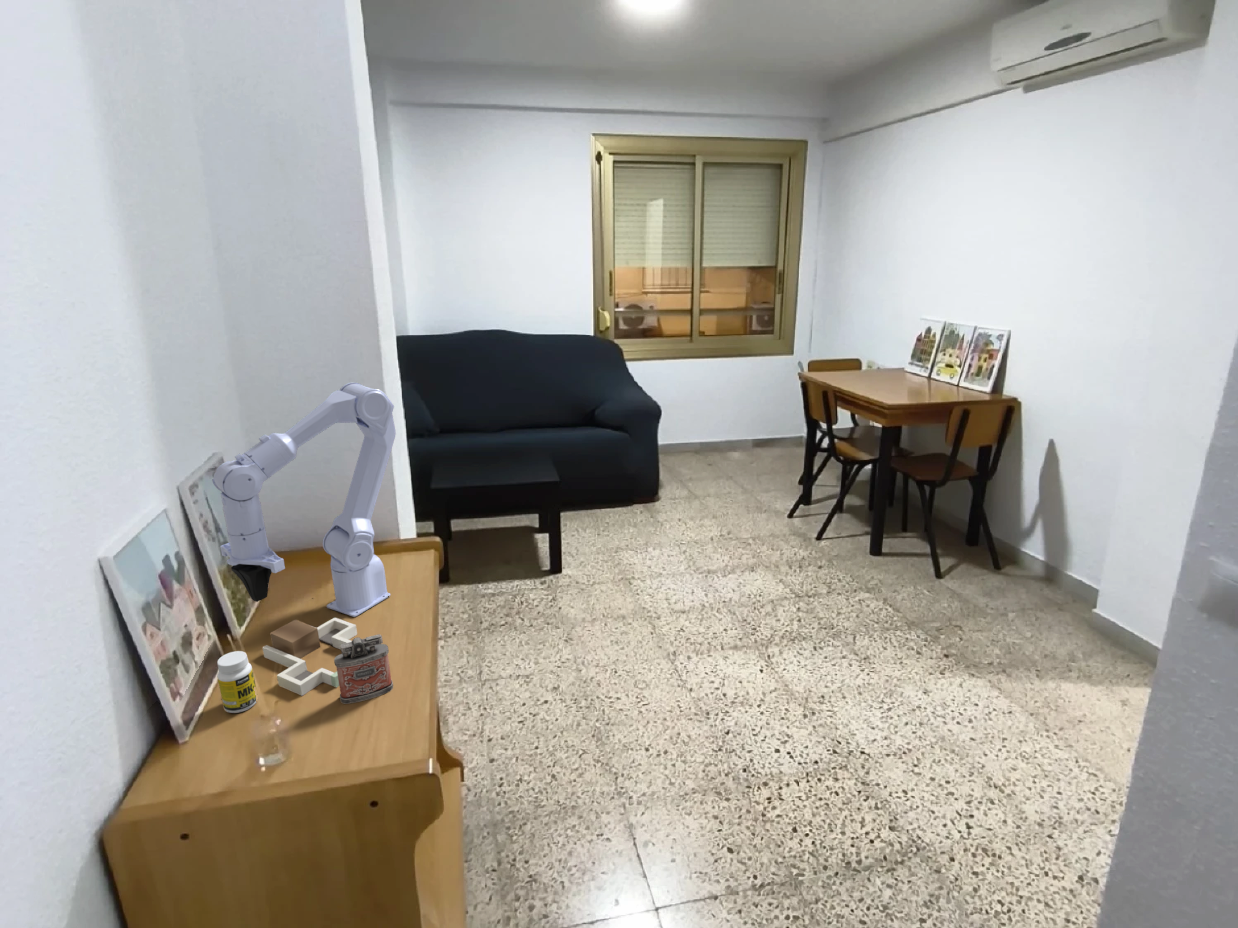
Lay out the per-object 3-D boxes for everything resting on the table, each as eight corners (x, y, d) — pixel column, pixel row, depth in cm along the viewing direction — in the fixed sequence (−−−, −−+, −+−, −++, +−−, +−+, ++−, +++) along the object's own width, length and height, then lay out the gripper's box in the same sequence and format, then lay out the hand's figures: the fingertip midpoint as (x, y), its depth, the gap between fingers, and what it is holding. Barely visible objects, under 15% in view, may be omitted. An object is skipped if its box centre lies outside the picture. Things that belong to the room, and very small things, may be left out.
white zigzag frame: (324, 622, 127) (322, 613, 127) (394, 647, 119) (392, 637, 119) (242, 669, 113) (240, 659, 113) (315, 701, 105) (313, 691, 105)
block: (298, 638, 123) (295, 619, 121) (320, 647, 120) (317, 628, 118) (273, 652, 118) (270, 632, 117) (295, 662, 116) (292, 642, 114)
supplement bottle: (243, 715, 102) (233, 669, 100) (217, 711, 103) (206, 665, 101) (265, 696, 107) (256, 651, 104) (239, 692, 108) (229, 647, 105)
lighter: (341, 706, 104) (332, 652, 101) (339, 694, 107) (330, 640, 104) (394, 691, 108) (388, 638, 105) (391, 679, 111) (384, 627, 108)
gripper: (198, 529, 115) (213, 598, 120) (252, 546, 109) (266, 619, 113) (236, 515, 121) (249, 581, 126) (290, 530, 115) (301, 600, 119)
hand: (259, 598), depth 120 cm, fingers closed
